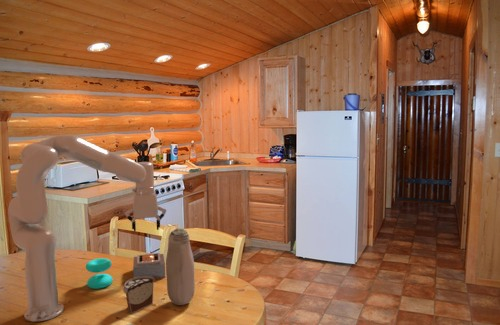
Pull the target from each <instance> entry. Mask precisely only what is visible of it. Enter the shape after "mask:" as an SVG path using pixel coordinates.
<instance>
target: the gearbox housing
mask: <svg viewBox="0 0 500 325" xmlns="http://www.w3.org/2000/svg"><path fill="white" fill-rule="evenodd" d="M146 254H147V253H144V254H137V256H133V266H132V268H133V272H132V273H133V278H135V277H140V276H151V277H154V280H156V279H163V278H165V279H166V261H165V257H164V253H160V252H156V253H152V254H153V255H154V260H153V261H143V260H142V256H143V255H146Z"/></svg>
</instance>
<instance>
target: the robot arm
mask: <svg viewBox="0 0 500 325" xmlns="http://www.w3.org/2000/svg"><path fill="white" fill-rule="evenodd" d="M19 155H20V156H19V158H20V161H21V163H22V165H21V166H20V168H19V169H18V172H17V174H16V180H15V183H16V184H15V186H16V196H14V197H13V198H12V199H11V200H10V201H9V204H8V209H7V210H8V212H7V213H8V214H7V215H8V220H9V226H10V232H11V237H12V241H13V243H14V244H15V246H16V247H18V248H19V249H21V250H23V251H24V252H25V259H24V260H25V261H24V272H25V282H26V283H25V284H26V293H27V294H26V296H27V304H28V309H27V310H26V311H25V312H24V314H23V316H24V319H25V321H29V322H31V323H32V322H35V323H36V322H43V321H48V320H51V319H54V318H56V317H58V316H59V315H60V314H62V313H63V311H64V309H65V308H64V304H63V303H61V302H59V294H58V281H57V270H56V268H57V267H56V258H55V257H56V248H57V247H56V246H57V242H56V237H55V234H54V232H52V231H51V230H50V229H49V228H47V227H44V226H41V225H40V224H41V223H43V222H44V221H45V220H47V217H48V215H49V214H48V213H49V210H48V209H49V208H48V207H49V206H48V202H47V196H46V187H45V180H46V177H47V175H48V173H49V172H50V171H51V170H52V169H53V168H54V167H55V166H56V165H57V163H58V161H59V159H62V158H67V159H70V160H72V161H76V162H77V163H80V164H82V165H84V166H88V167H89V168H92V169H94V170H96V171H100V172H104V173H109V174H113V175H115V177H116V178H117V179H119V180H120V181H123V182H128V183H129V182H130V183H135V187H134V188H132V193H135V194H134V196H133V203H132V204H133V206H132V207H131V208H129V209H128V210H127V211H125V212H124V215H125V216H126V218H127V219H128V221H130V222H131V229H132V230H133V232H136V230H137V228H136V226H137V223H136V220H137V219H150V218H152V219H153V218H155V219H156V230H157V231H158V230H159V228H161V221H162V219H163V218H164V217H165V215H166V213H167V209H165V208H164V207H161V206H159V205H158V197H157V194H156V193H155V178H154V175H155V174H154V172H155V171H154V164H153V162H150V161H141V162H136V161H134V160H132V159H130V158H127V157H125V156H122V155H120V154H117V153H115V152H112V151H110V150H108V149H105V148H103V147H101V146H99V145H97V144H94V143H93V142H91V141H89V140H86V139H84V138H82V137H80V136H77V135H74V134H61V135H60V134H59V135H56V136H53V137H49V138H46V139H43V140H40V141H36V142H34V143H30V144H28V145H26V146H24V148H22V150H21V151H20V154H19ZM159 211H160V212H161V213H160V215H159ZM132 212H133V213H132ZM131 213H132V214H133V217H132V216H131V215H130V214H131Z"/></svg>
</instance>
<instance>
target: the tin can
mask: <svg viewBox="0 0 500 325" xmlns="http://www.w3.org/2000/svg"><path fill="white" fill-rule="evenodd" d="M145 254H146V255H144V254H142V255H143V256H142V260H143V261H153V260H154V255H153V254H154V253H145Z"/></svg>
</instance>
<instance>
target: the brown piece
mask: <svg viewBox="0 0 500 325" xmlns="http://www.w3.org/2000/svg"><path fill="white" fill-rule="evenodd" d="M155 280H156V279H154V277H151V276H140V277H135V278H134V277H132V278H130V279H128V280H126V281H125V283H124V285H123V289H122V290H123V293H124V294H125V297H126V298H125V299H126V303H127V309H128V310H127V311H128V313H129V314H131V315H132V314H134V313H136V312H138V311H141V310H143V309H145V308H146V307H149V306H151V305H153V303H154V283H156V281H155ZM144 307H145V308H144ZM142 308H143V309H142Z"/></svg>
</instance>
